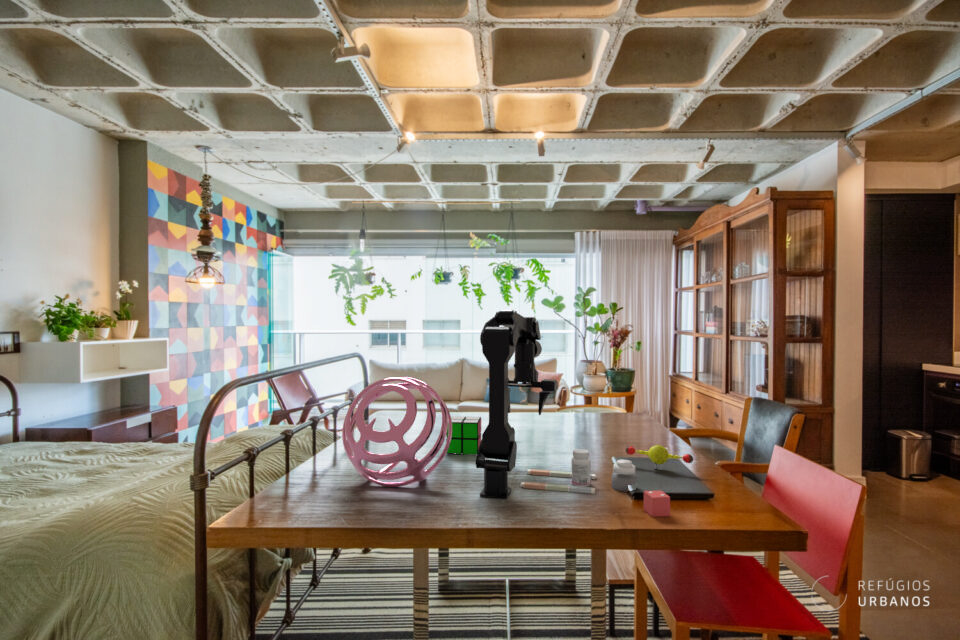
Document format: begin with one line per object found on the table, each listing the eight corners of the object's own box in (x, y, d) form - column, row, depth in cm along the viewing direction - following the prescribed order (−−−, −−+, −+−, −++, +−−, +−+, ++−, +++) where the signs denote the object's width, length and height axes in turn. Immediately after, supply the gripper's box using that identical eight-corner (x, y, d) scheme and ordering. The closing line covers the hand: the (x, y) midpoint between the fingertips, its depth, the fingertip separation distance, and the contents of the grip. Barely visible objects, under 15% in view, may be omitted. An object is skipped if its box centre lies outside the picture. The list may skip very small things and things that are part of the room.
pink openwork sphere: (390, 391, 149) (362, 345, 127) (474, 419, 141) (460, 375, 118) (344, 479, 135) (303, 444, 113) (434, 515, 127) (410, 485, 105)
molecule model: (695, 472, 134) (695, 447, 134) (691, 477, 129) (691, 451, 129) (628, 461, 143) (628, 438, 143) (623, 466, 138) (623, 442, 139)
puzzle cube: (481, 447, 160) (481, 416, 160) (478, 455, 150) (478, 422, 150) (451, 446, 161) (451, 416, 161) (446, 454, 151) (446, 422, 151)
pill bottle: (577, 479, 127) (577, 447, 127) (594, 483, 124) (594, 450, 124) (568, 484, 123) (568, 451, 123) (585, 488, 120) (585, 454, 120)
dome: (636, 475, 118) (636, 465, 118) (613, 473, 119) (613, 463, 119) (634, 469, 123) (634, 459, 123) (613, 467, 124) (613, 458, 124)
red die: (670, 515, 103) (670, 496, 103) (652, 516, 103) (652, 497, 103) (661, 508, 107) (661, 490, 107) (643, 509, 107) (643, 490, 107)
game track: (638, 497, 114) (638, 484, 114) (520, 487, 121) (520, 475, 121) (635, 480, 126) (635, 468, 126) (527, 472, 133) (527, 461, 133)
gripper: (561, 359, 146) (561, 411, 146) (502, 357, 153) (501, 407, 153) (554, 361, 136) (554, 417, 136) (490, 359, 142) (490, 413, 142)
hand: (524, 413), depth 142 cm, fingers open, 9 cm apart
